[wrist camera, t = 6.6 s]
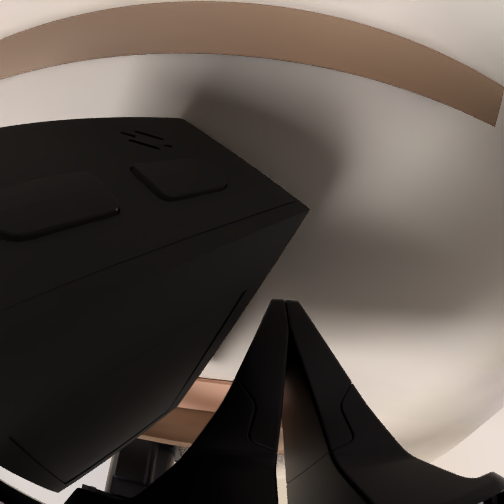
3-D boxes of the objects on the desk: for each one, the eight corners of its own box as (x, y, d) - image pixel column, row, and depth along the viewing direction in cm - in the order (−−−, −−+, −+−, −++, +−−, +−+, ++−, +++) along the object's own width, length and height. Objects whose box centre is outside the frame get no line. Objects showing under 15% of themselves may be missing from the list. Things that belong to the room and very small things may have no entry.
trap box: (301, 420, 18) (303, 461, 15) (-35, 343, 17) (-49, 368, 14) (448, 71, 6) (518, 92, 4) (-121, 121, 5) (-152, 142, 2)
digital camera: (156, 96, 8) (-97, 121, 2) (314, 203, 6) (-112, 394, 1) (103, 317, 13) (-18, 378, 8) (179, 405, 12) (54, 495, 6)
